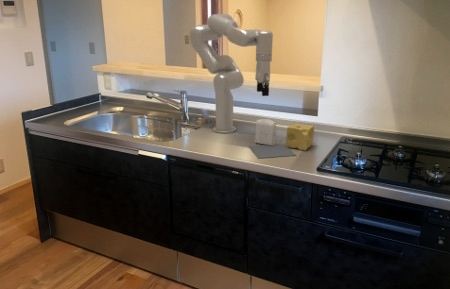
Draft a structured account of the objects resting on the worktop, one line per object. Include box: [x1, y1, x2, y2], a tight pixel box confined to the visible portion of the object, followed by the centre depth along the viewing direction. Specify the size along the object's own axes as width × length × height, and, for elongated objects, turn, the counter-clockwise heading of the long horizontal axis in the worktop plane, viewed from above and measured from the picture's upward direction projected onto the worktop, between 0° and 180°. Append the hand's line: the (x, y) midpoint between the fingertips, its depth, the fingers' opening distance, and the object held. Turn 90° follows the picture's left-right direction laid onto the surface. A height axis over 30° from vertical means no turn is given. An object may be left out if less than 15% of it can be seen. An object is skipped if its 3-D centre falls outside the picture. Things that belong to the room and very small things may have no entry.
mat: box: [248, 143, 297, 160], centre depth 189 cm, size 16×18×1 cm
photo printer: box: [254, 118, 277, 146], centre depth 197 cm, size 10×4×12 cm, turn 56°
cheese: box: [285, 122, 315, 151], centre depth 194 cm, size 10×11×10 cm
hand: (262, 93), depth 196 cm, fingers open, 9 cm apart
